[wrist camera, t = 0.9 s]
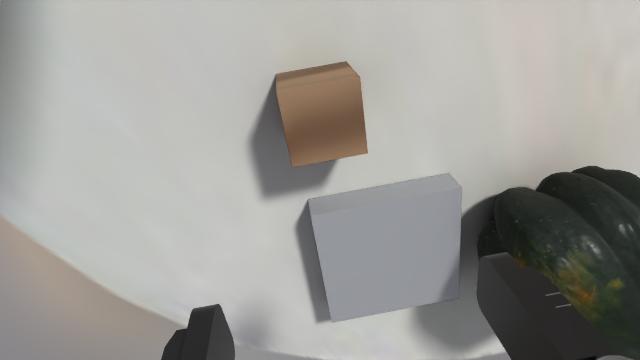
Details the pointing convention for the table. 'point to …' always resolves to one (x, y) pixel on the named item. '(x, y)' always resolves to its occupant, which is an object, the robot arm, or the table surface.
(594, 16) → the table surface
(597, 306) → the squash
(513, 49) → the table surface
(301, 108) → the walnut cube
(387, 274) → the stone coaster
